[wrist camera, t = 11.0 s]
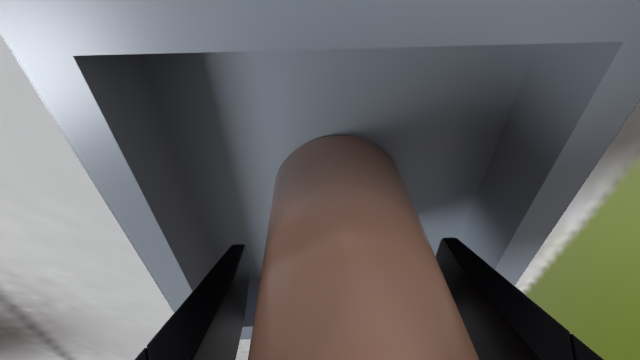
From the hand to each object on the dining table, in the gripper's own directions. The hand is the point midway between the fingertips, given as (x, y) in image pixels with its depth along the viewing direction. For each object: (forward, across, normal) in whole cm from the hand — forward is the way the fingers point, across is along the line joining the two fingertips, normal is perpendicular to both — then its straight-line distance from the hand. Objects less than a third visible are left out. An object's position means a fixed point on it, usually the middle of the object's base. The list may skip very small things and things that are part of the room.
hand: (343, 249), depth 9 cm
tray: (+4, 0, 0) cm, 4 cm away
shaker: (+3, 0, 0) cm, 3 cm away
